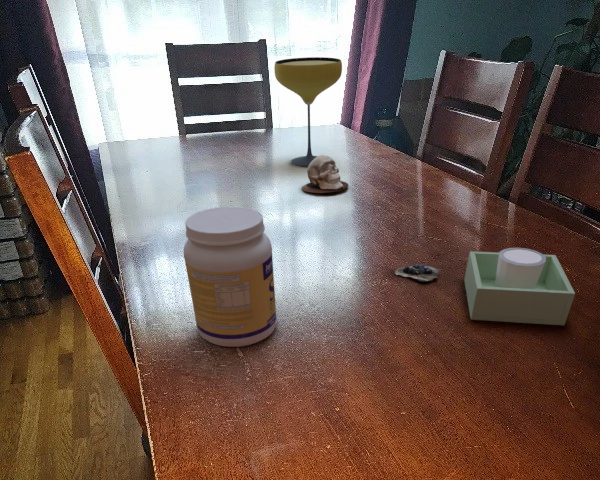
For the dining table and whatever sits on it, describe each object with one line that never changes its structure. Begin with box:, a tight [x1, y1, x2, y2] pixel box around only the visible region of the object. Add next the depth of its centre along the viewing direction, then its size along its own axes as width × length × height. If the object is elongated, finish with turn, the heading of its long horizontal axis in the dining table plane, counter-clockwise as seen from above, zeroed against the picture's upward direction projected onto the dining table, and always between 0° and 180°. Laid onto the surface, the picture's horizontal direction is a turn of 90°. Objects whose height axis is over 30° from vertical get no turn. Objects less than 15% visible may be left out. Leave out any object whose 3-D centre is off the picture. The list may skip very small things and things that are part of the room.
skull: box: [301, 154, 349, 194], centre depth 130 cm, size 12×10×10 cm
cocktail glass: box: [273, 56, 343, 168], centre depth 143 cm, size 18×18×25 cm
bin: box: [464, 251, 576, 326], centre depth 81 cm, size 14×14×5 cm
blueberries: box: [394, 263, 441, 283], centre depth 90 cm, size 7×8×2 cm
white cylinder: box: [495, 247, 546, 289], centre depth 80 cm, size 7×7×7 cm
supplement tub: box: [183, 205, 278, 348], centre depth 73 cm, size 12×12×17 cm
